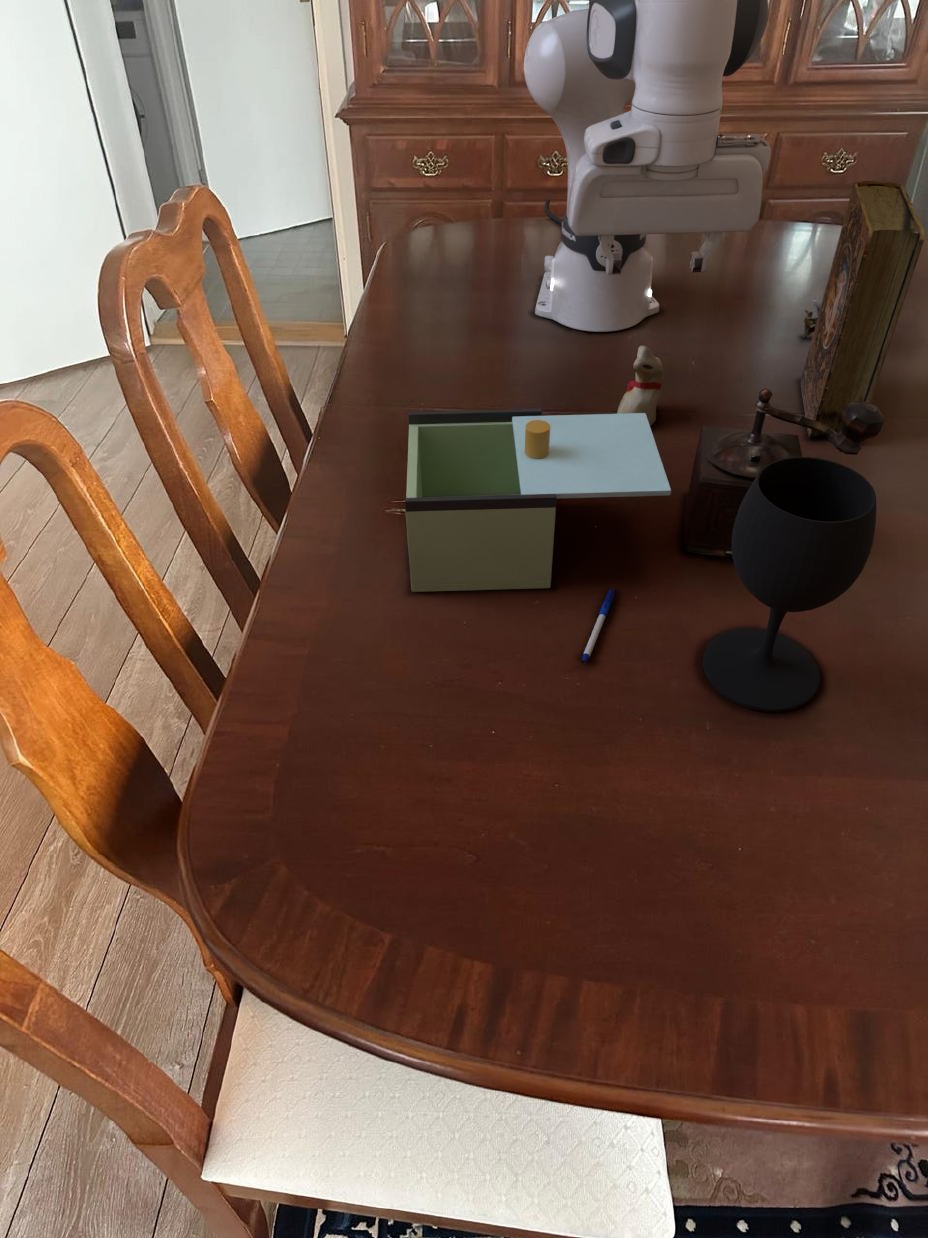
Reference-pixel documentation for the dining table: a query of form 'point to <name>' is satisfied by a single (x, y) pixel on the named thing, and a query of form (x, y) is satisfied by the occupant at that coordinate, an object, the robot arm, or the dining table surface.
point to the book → (861, 300)
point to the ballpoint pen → (598, 625)
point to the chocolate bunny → (644, 386)
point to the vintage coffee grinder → (754, 466)
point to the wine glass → (790, 574)
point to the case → (473, 505)
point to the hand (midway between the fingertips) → (654, 271)
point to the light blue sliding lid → (588, 456)
